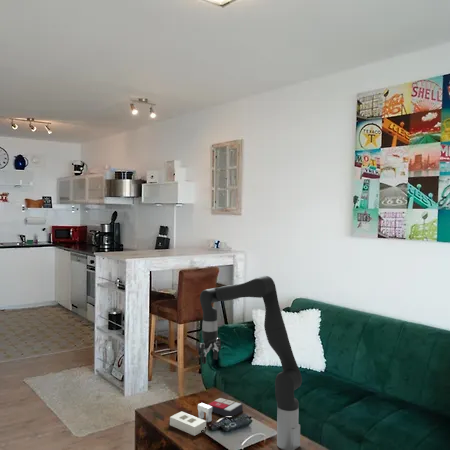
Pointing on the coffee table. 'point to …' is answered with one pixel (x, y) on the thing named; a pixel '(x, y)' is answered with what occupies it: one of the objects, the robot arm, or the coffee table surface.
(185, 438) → the coffee table surface
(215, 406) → the dark red white box
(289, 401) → the robot arm
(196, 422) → the cream white box
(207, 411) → the clip
